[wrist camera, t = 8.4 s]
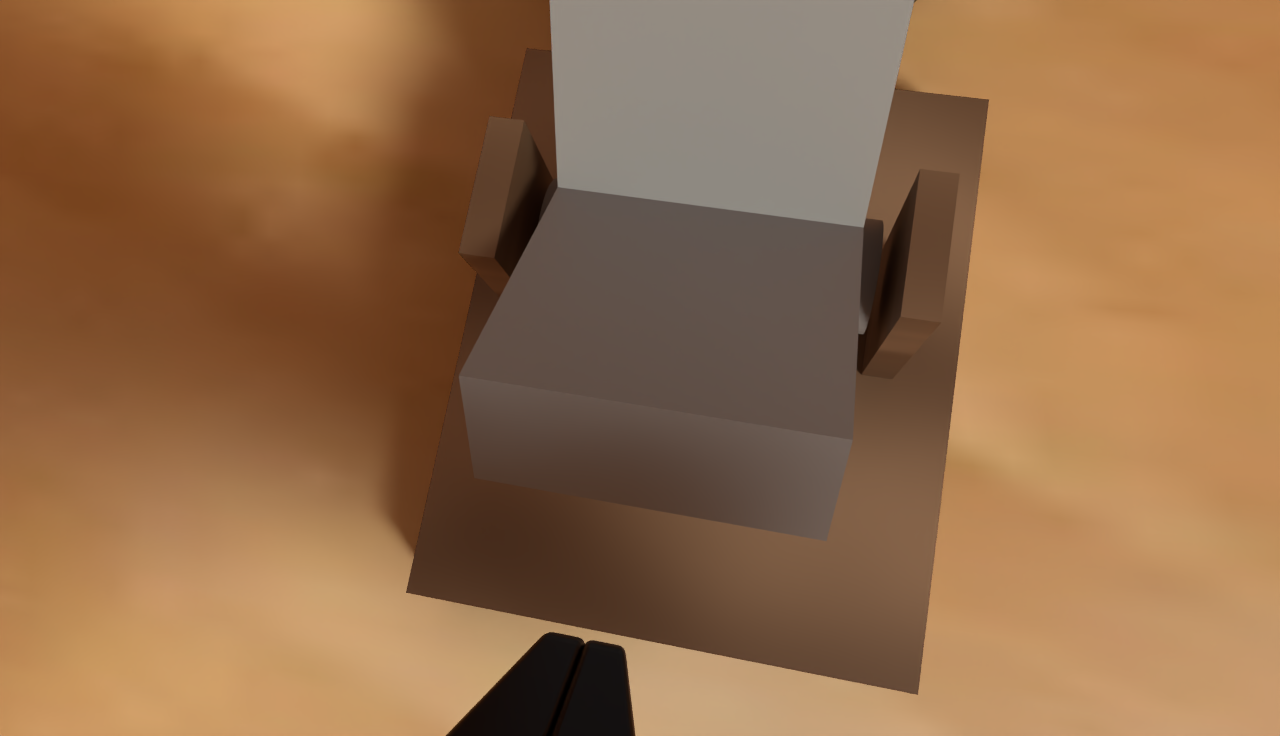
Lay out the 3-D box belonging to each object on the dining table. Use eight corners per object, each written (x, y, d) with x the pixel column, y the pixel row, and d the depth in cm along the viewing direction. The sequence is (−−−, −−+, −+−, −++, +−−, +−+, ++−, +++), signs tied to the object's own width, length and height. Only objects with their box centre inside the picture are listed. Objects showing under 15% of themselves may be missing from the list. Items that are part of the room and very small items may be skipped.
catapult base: (899, 680, 19) (980, 742, 12) (438, 589, 20) (301, 603, 14) (965, 141, 21) (1063, -37, 15) (545, 92, 22) (469, -91, 16)
